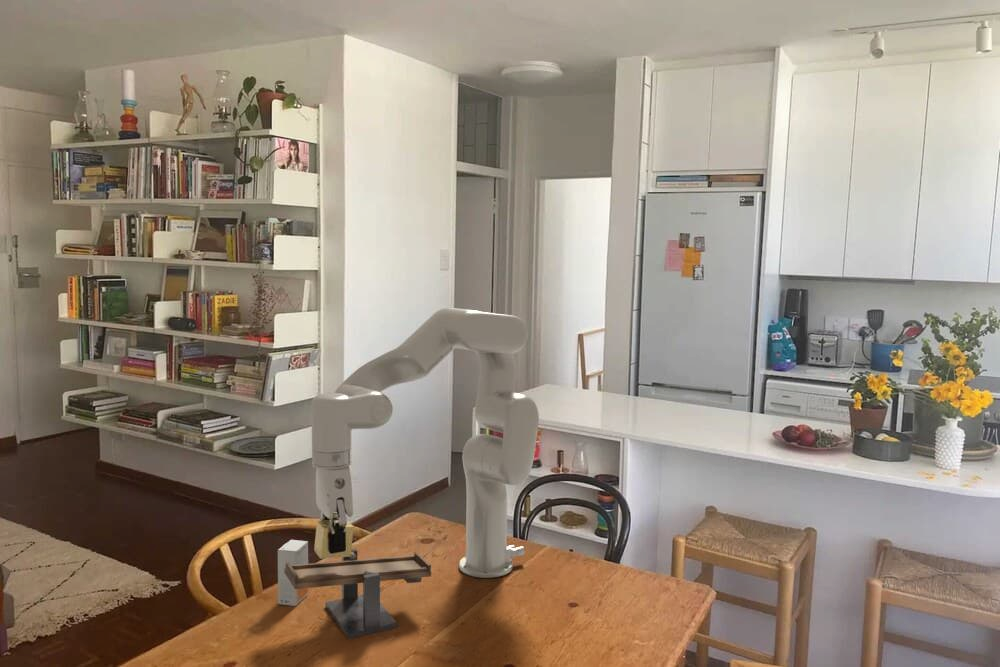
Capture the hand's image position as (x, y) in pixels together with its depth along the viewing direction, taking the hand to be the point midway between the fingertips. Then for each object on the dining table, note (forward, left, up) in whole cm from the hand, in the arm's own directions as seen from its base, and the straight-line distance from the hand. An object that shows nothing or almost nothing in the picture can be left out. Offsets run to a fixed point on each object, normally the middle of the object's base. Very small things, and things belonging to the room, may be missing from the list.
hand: (333, 546), depth 154 cm
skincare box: (+5, -14, -16) cm, 22 cm away
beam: (-5, 0, -8) cm, 10 cm away
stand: (-5, 0, -16) cm, 17 cm away
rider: (0, 0, -1) cm, 1 cm away
